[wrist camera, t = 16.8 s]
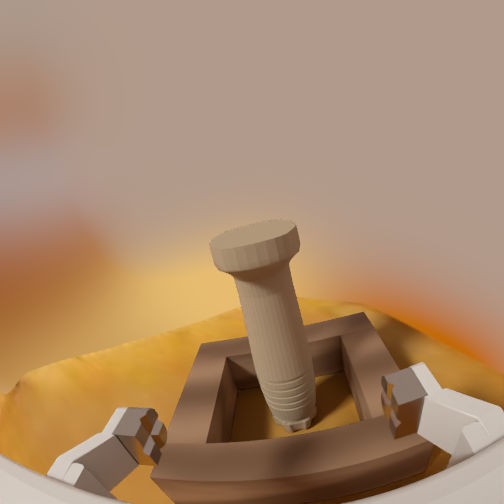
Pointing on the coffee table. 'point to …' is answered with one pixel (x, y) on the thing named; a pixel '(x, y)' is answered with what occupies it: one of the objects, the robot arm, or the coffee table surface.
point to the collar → (292, 447)
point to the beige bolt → (272, 315)
